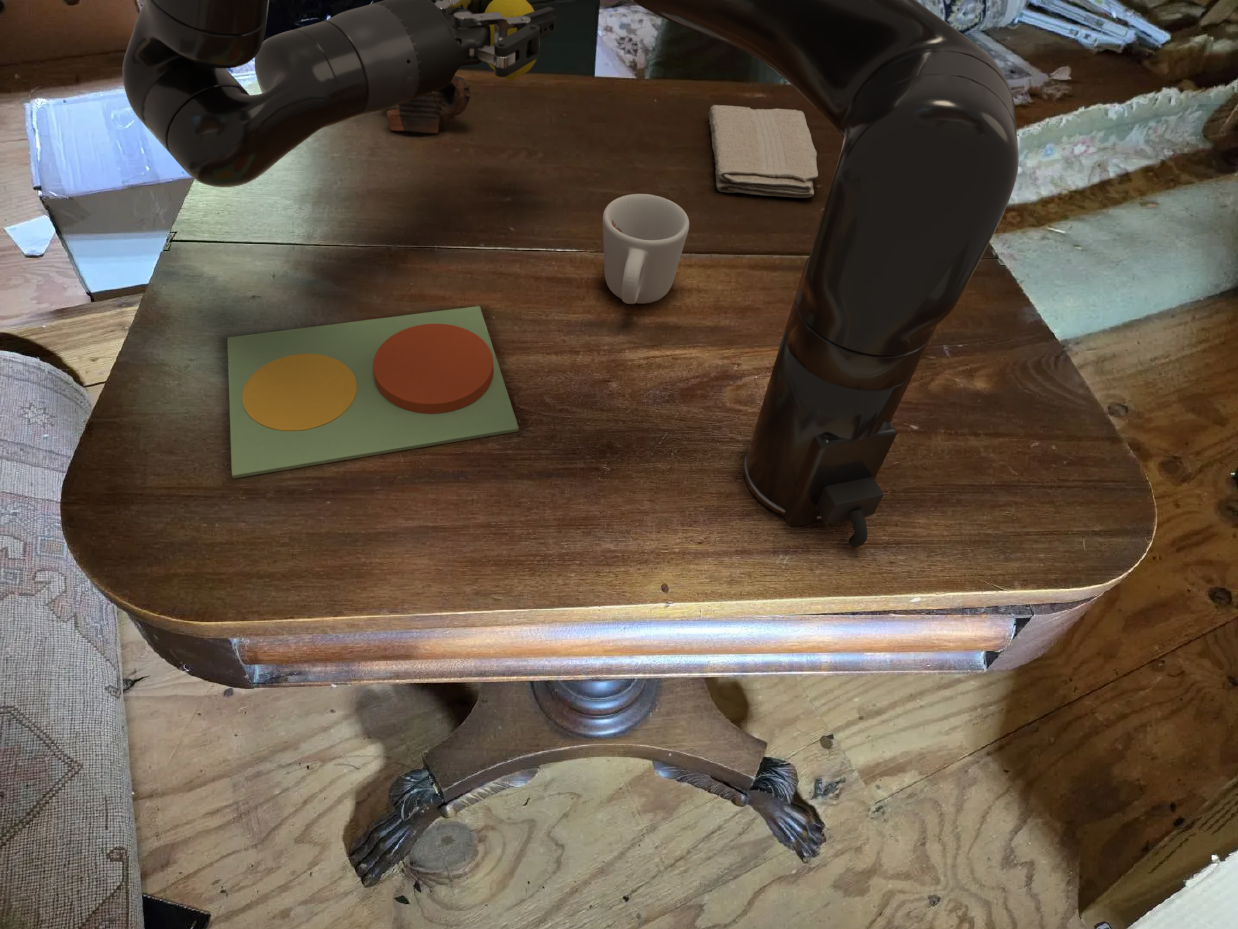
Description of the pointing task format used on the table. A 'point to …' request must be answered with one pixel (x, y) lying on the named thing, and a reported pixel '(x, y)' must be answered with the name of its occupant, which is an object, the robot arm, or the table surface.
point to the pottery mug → (431, 108)
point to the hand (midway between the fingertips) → (529, 8)
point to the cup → (642, 246)
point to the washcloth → (762, 151)
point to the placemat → (363, 390)
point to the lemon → (510, 5)
